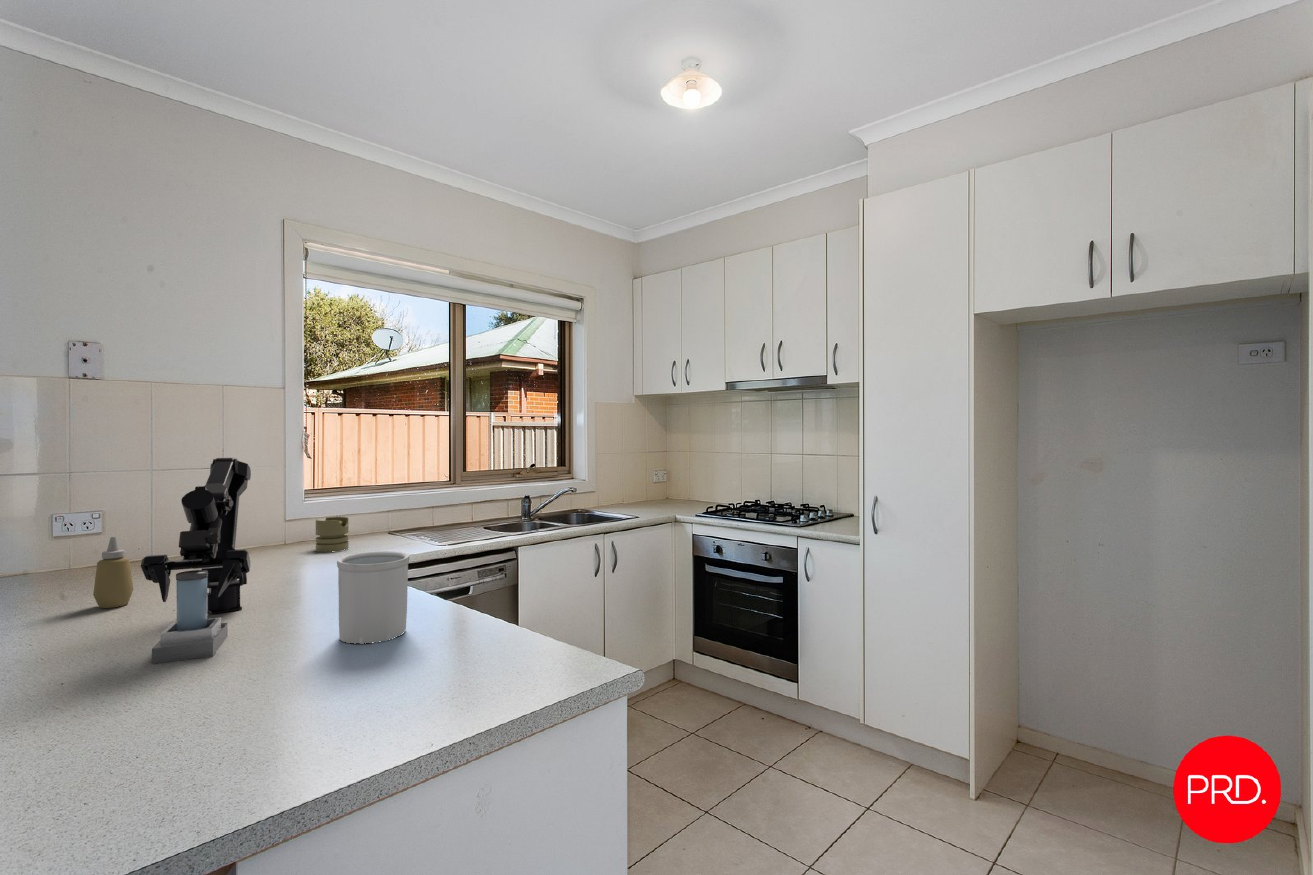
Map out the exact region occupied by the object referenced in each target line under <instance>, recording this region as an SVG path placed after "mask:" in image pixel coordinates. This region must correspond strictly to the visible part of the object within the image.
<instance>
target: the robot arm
mask: <svg viewBox="0 0 1313 875" xmlns="http://www.w3.org/2000/svg"><path fill="white" fill-rule="evenodd" d="M209 470H210V471H209V476H208V477H207V480H206V482H205V485H203V486H202V485H201V486H200V485H199V486H195V488H194V490H191V491H189V492H187V493H186V494H184V495H183V496H182V497H181V505H182V506H181V507H182V508H183V511H184V514H185V515H184V516H185V519H186V521H187V523H189V524H190V527H189V529H188V530H184V531H183V530H182V531H180V532H179V540H178V548H180V551H179V554H180V557H183V558H182V559H172V560H171V559H170V560H169V557H168V554H154V555H152V554H151V555H146V556H144V557H143V558H142V559H141V561H140V562H141V563H140V568H141V571H142V572H143V573H142V574H143V575H144V578H145V580H147V581H152V583H154V584H158V586H159V591H160V596H161V600H162V602H163V603H166V602H167V600H168V596H169V591H170V586H171V585H170V584H171V578H170V577H171V572H172V571H177V570H178V571H179V570H181V571H182V570H190V569H191V570H207V571H208V577H207V589H208V592H207V612H209V613H210V614H211V615H215V614H222V613H228V612H232V611H233V612H234V611H240V610H243V607H242V606H241V587H242V586H243V585H247V584H248V576H247V573H250V571H251V560H250V555H249V551H248V550H247V549H236V541H237V540H236V539H237V531H238V530H237V529H238V528H237V526H238V518H239V517H238V516H239V506H240V497H241V495H243V493H244V492H245V491H246V490H247V489H248V483H249V481H251V476H252V475H251V474H252V473H251V471H252V470H251V466H250V464H248V463H246V462H243V461H240V460H238V458H234V457H217V458H214V459H212V463H211V464H210V469H209Z"/></svg>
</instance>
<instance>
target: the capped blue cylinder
mask: <svg viewBox="0 0 1313 875" xmlns="http://www.w3.org/2000/svg"><path fill="white" fill-rule="evenodd" d="M207 577H208V571H207V570H201V569H191V570H184V571H181V572H177V573H176V574H175V580H176V622H177V631H184V630H193V629H203V628H207V619H208V610H207V593H208V588H207Z"/></svg>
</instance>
